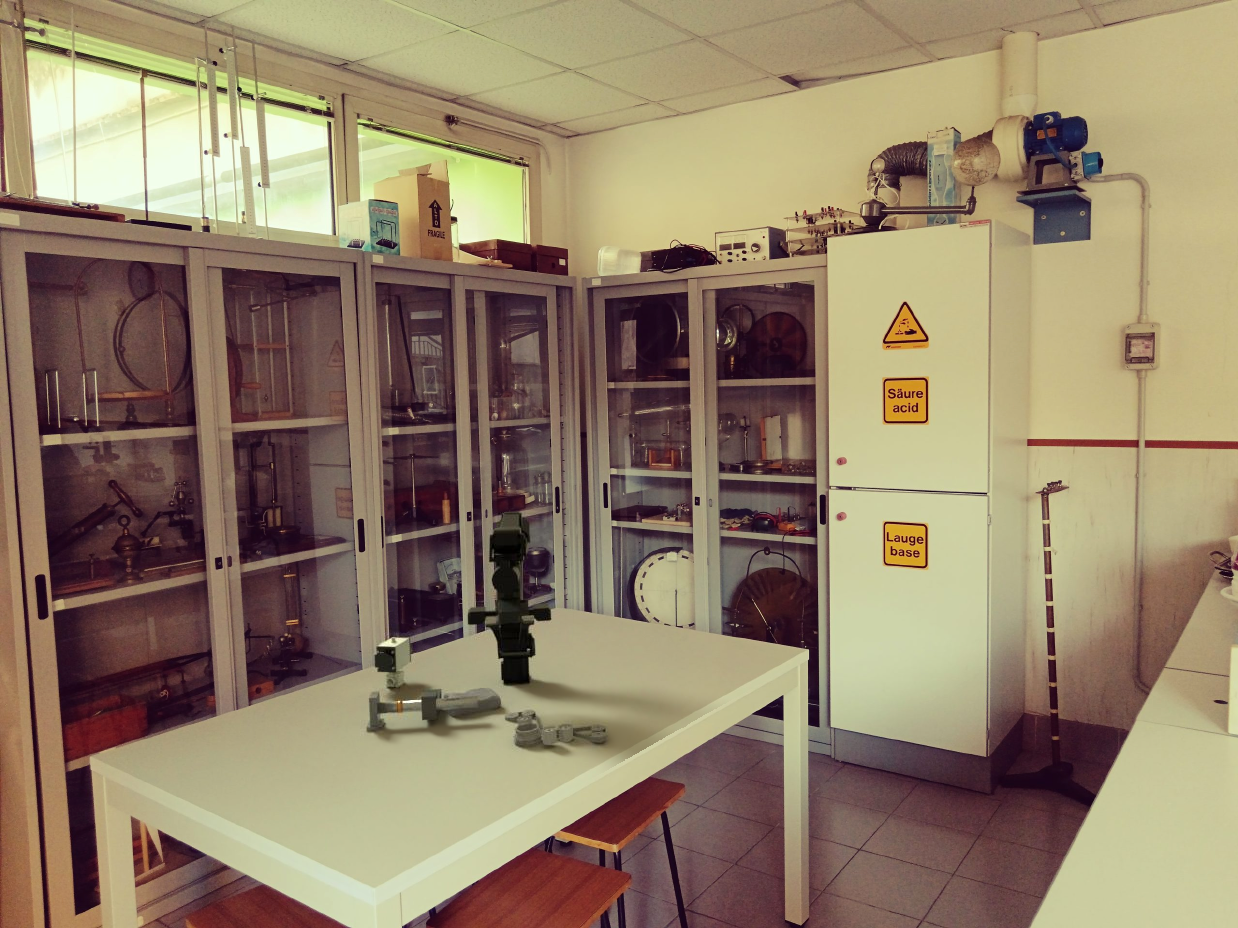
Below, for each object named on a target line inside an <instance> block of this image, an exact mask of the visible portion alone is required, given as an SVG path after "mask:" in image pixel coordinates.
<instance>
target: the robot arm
mask: <svg viewBox="0 0 1238 928" xmlns="http://www.w3.org/2000/svg"><path fill="white" fill-rule="evenodd" d="M531 532H532V531H531V523H530V521H528V520H527V519H525V518H524V517H523V512H519V511H505V512H502V513H501V518H500V520H499V521H498V522H497V523H496V527H495V528H494V529H493V530H492V534H490V535H489V551H488V553H489V554H488V556H489V557H488V562H489V563H495V565H494V566H495V568H494V571H493V574H492V576H491V584H492V586H493V589H495V593H496V594H495V597H496V602H495V610H494V609H493V610H487V609H486V606H475V607H474V606H473V607H470V608H469V609H468V611H467V625H469V626H473V625H474V626H475V625H476V626H477V625H483V623H484V627H485V628H489V629H490V630H491V632H492V633H493V636H494V637H495V640H496V644H497V645H496V646H497V647H496V648H497V658H498V660H501V659H502V661H500V675H501V676H500V680H501V681H502V684H503V685H517V684H522V685H523V684H529V683H531V675H530V660H529V659H531V658H533V657H535V656H536V655H537V654H536V643H535V642H536V641H535V638H534V636H533V634H532V632H530V627H531V626H534V625H535V621H537V622H549V621H552V609H551V606H550V605H549V603H533V604H532V608H529V599H524V598H523V597H524V596H523V595H524V592H523V591H524V590H523V589H524V588H523V587H524V586H523V583H524V581H523V578H524V577H523V574H524V573H523V570H524V569H523V562H524V560H525V558H526V557H527V554H528V552H529V544H531V543H532V533H531Z"/></svg>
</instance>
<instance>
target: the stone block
mask: <svg viewBox="0 0 1238 928" xmlns="http://www.w3.org/2000/svg"><path fill="white" fill-rule="evenodd" d="M474 696H477V697H478V708H464V709H448V710H444V711H445V712H446V713H448V715H450V716H451V717H452V718H453V717H461V716H466V715H467V716H468V715H473V714H478V713H483V712H490V711H494V710H496V709H500V708H501V706H502V700H501V697H500V695H499V694H498V693H497V692H496V691H495V690H494V689H493V688H490V687H480V688H475V689H473V688H472V689H469V690H468V691H465V692H451V693H449V692H448V693H444V695H443V698H458V697H474Z"/></svg>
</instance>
